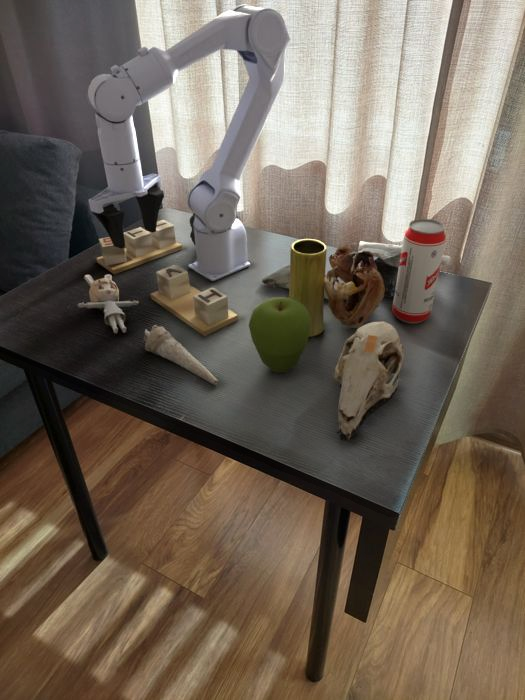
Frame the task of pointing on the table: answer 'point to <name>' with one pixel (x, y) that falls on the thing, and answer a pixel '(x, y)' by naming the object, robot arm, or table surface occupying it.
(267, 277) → the fossil
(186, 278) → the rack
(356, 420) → the animal skull replica
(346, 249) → the dried fish head
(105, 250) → the s tile
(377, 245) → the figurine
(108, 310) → the toy
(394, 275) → the rock
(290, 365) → the apple
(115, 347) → the table surface
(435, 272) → the beer can
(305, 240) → the vase
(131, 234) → the board
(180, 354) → the seashell
